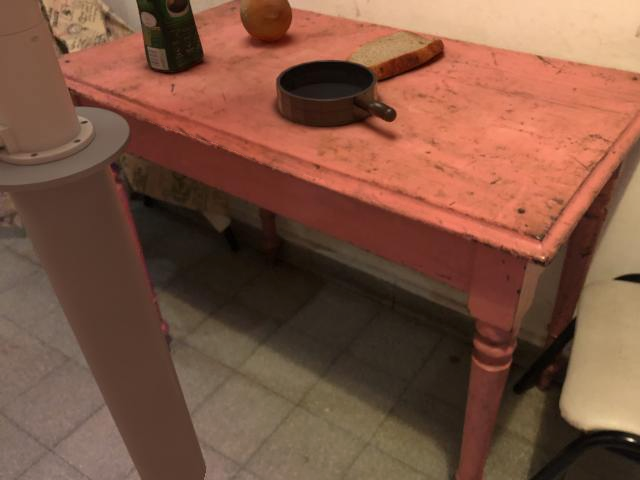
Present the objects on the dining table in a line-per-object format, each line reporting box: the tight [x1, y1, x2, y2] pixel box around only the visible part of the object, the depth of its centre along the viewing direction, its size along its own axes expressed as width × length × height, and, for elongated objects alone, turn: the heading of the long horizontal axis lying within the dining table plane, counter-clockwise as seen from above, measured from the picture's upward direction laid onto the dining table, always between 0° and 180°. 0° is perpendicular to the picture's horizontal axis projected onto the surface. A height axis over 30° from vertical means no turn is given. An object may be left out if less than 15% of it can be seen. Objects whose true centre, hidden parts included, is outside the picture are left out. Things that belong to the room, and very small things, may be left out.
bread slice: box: [346, 29, 445, 81], centre depth 102 cm, size 18×18×4 cm
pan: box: [275, 59, 379, 127], centre depth 90 cm, size 15×15×4 cm
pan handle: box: [354, 94, 398, 123], centre depth 83 cm, size 2×8×2 cm, turn 40°
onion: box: [239, 0, 293, 43], centre depth 110 cm, size 10×10×10 cm
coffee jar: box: [135, 0, 205, 73], centre depth 99 cm, size 10×8×19 cm
